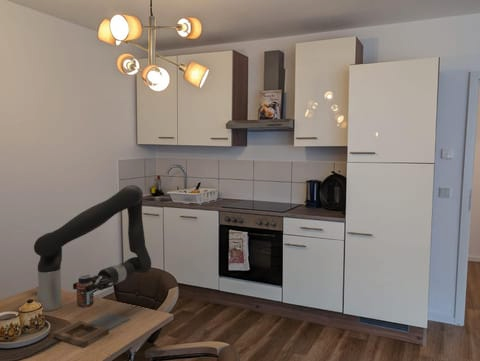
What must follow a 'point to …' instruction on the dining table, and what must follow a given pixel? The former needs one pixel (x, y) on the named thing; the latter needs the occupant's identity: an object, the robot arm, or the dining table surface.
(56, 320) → the dining table surface
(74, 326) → the walnut collar
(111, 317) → the charcoal mat
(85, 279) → the supplement bottle
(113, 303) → the dining table surface
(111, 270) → the robot arm
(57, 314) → the dining table surface
